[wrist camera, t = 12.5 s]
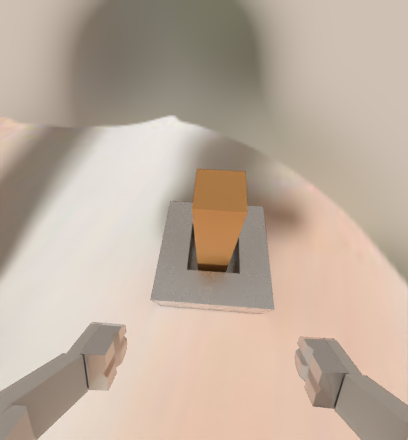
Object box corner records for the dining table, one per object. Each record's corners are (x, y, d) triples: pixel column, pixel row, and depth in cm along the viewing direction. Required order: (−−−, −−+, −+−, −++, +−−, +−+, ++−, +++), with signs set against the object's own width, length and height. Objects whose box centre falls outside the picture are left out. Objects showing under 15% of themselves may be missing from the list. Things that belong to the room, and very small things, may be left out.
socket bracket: (160, 305, 23) (150, 299, 18) (175, 219, 29) (170, 201, 25) (261, 313, 22) (274, 309, 18) (254, 224, 28) (263, 206, 24)
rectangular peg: (198, 270, 24) (191, 208, 12) (200, 245, 26) (197, 168, 14) (225, 272, 24) (247, 212, 12) (226, 247, 26) (245, 171, 14)
